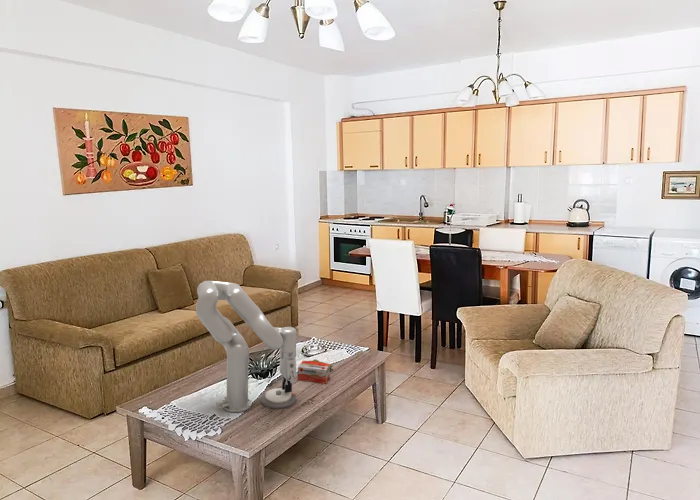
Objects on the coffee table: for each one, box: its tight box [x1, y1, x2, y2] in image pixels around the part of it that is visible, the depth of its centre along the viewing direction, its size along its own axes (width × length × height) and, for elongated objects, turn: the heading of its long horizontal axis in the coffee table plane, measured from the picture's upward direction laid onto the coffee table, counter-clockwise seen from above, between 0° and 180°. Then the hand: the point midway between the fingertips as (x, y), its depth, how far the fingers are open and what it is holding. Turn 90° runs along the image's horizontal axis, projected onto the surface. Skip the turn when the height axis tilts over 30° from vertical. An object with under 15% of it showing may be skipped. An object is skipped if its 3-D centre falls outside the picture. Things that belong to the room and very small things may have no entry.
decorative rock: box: [311, 359, 334, 371], centre depth 277 cm, size 11×4×15 cm
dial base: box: [260, 391, 297, 410], centre depth 241 cm, size 16×16×4 cm
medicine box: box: [297, 360, 331, 385], centre depth 265 cm, size 15×8×8 cm, turn 78°
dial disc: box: [265, 382, 296, 403], centre depth 241 cm, size 14×12×6 cm
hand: (286, 390), depth 242 cm, fingers open, 2 cm apart
